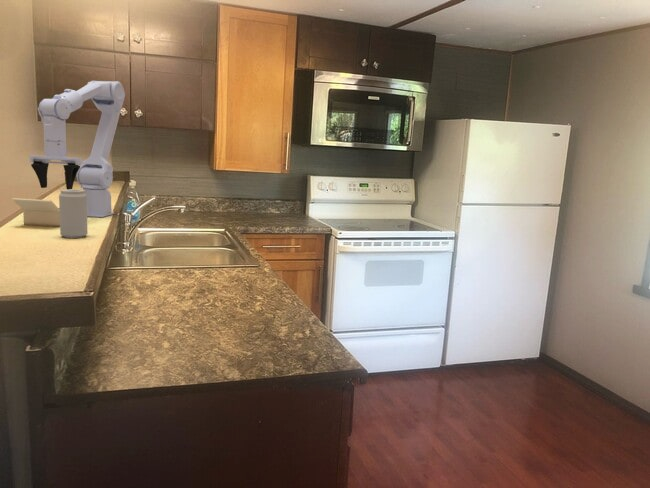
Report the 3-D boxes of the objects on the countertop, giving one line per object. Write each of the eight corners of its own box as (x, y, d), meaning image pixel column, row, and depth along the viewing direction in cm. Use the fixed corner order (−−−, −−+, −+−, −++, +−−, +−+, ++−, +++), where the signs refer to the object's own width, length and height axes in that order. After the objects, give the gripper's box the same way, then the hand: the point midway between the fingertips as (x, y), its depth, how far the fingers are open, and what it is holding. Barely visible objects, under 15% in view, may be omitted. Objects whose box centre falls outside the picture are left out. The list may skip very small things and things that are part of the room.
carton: (35, 221, 160) (35, 206, 159) (72, 223, 160) (72, 208, 159) (23, 224, 154) (23, 208, 153) (62, 226, 154) (61, 211, 153)
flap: (12, 197, 148) (12, 199, 148) (51, 200, 148) (50, 201, 147) (23, 208, 153) (23, 209, 153) (60, 210, 153) (60, 212, 153)
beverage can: (92, 235, 144) (91, 189, 141) (79, 239, 137) (77, 191, 135) (69, 233, 144) (68, 188, 142) (55, 237, 138) (53, 190, 136)
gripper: (22, 139, 154) (24, 188, 156) (72, 142, 153) (74, 190, 156) (36, 140, 161) (38, 186, 163) (84, 142, 160) (85, 189, 163)
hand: (56, 188), depth 160 cm, fingers open, 7 cm apart
